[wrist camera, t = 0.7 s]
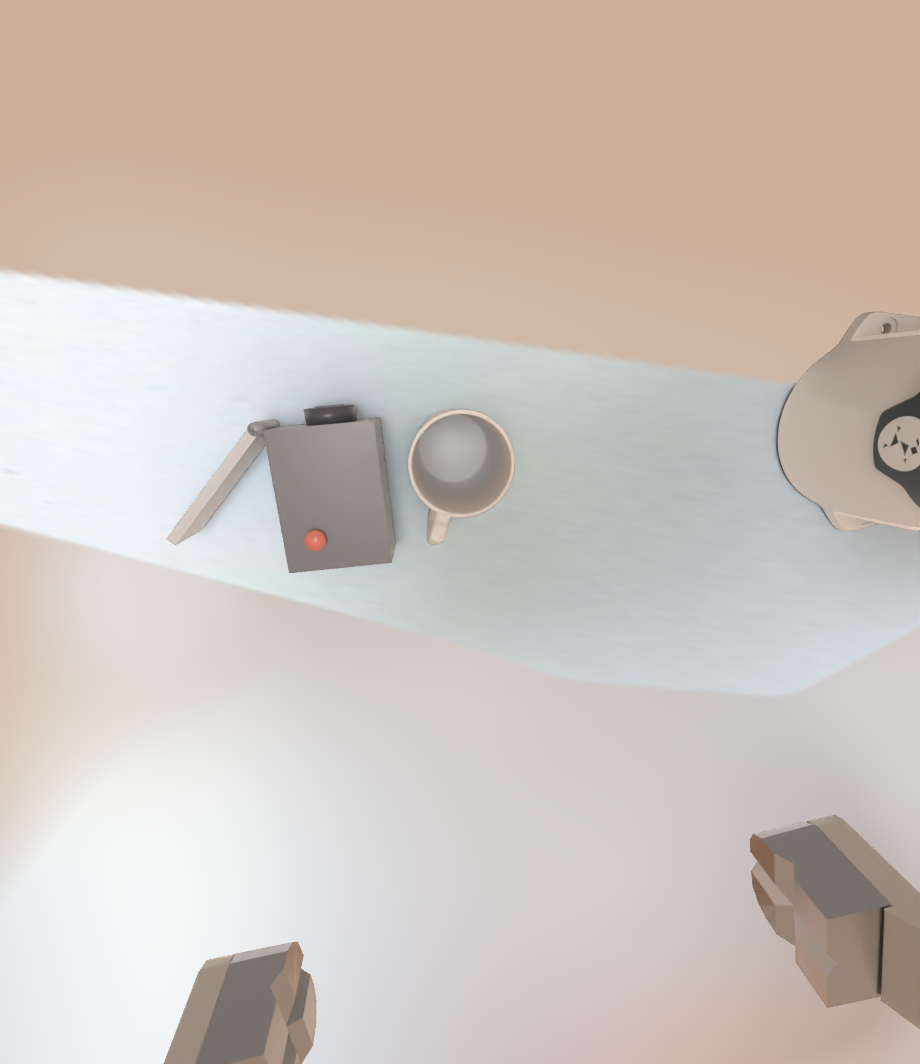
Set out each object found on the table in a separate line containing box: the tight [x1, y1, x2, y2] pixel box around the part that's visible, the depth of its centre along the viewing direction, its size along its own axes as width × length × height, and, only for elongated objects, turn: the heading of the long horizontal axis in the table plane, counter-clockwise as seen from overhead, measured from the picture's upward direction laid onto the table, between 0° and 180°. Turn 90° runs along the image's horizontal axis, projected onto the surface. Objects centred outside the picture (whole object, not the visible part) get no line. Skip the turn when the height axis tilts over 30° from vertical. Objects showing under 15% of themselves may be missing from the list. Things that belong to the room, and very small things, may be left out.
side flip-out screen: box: [167, 420, 280, 545], centre depth 41 cm, size 1×12×5 cm, turn 140°
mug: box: [408, 409, 515, 545], centre depth 38 cm, size 10×7×12 cm, turn 162°
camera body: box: [263, 404, 396, 573], centre depth 41 cm, size 8×12×6 cm, turn 5°
